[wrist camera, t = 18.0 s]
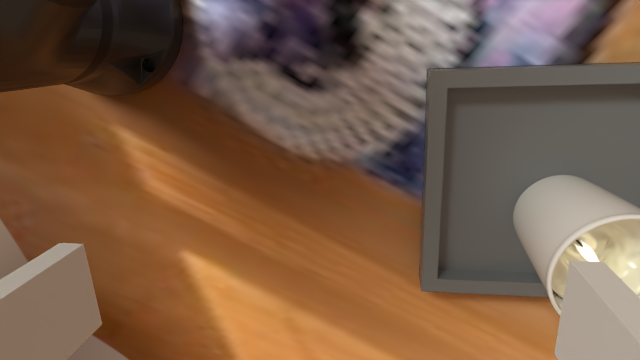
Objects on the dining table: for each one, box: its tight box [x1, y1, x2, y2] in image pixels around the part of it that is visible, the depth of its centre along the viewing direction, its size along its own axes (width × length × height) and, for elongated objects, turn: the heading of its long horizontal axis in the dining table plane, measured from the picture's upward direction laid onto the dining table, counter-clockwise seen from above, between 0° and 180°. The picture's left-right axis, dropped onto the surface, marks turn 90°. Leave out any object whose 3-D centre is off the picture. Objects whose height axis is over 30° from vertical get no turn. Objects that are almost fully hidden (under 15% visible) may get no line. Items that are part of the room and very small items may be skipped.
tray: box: [419, 62, 640, 297], centre depth 39 cm, size 22×22×3 cm
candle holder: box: [513, 175, 640, 316], centre depth 35 cm, size 10×10×12 cm
